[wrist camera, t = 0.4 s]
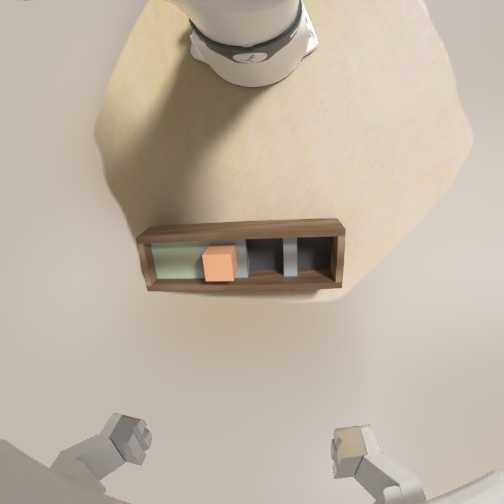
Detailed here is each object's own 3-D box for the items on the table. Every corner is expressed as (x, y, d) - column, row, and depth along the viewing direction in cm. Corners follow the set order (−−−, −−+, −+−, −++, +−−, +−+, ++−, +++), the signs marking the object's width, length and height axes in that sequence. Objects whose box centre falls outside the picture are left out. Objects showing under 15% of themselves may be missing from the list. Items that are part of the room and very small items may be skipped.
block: (208, 244, 42) (202, 255, 38) (235, 243, 41) (231, 254, 38) (211, 269, 43) (205, 281, 40) (237, 268, 43) (233, 280, 39)
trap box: (150, 227, 45) (136, 237, 40) (337, 218, 42) (345, 229, 37) (159, 276, 48) (147, 291, 43) (335, 271, 45) (341, 287, 40)
